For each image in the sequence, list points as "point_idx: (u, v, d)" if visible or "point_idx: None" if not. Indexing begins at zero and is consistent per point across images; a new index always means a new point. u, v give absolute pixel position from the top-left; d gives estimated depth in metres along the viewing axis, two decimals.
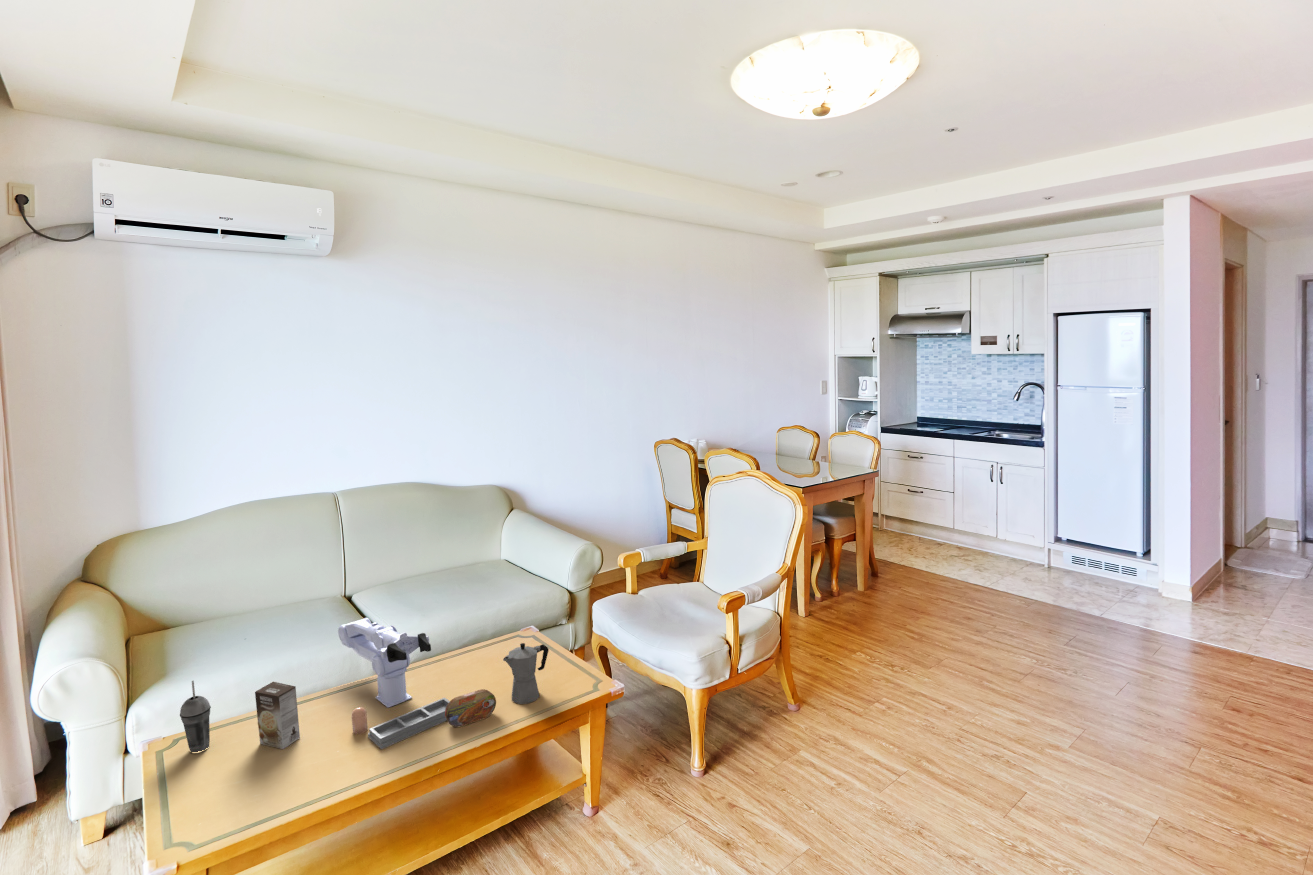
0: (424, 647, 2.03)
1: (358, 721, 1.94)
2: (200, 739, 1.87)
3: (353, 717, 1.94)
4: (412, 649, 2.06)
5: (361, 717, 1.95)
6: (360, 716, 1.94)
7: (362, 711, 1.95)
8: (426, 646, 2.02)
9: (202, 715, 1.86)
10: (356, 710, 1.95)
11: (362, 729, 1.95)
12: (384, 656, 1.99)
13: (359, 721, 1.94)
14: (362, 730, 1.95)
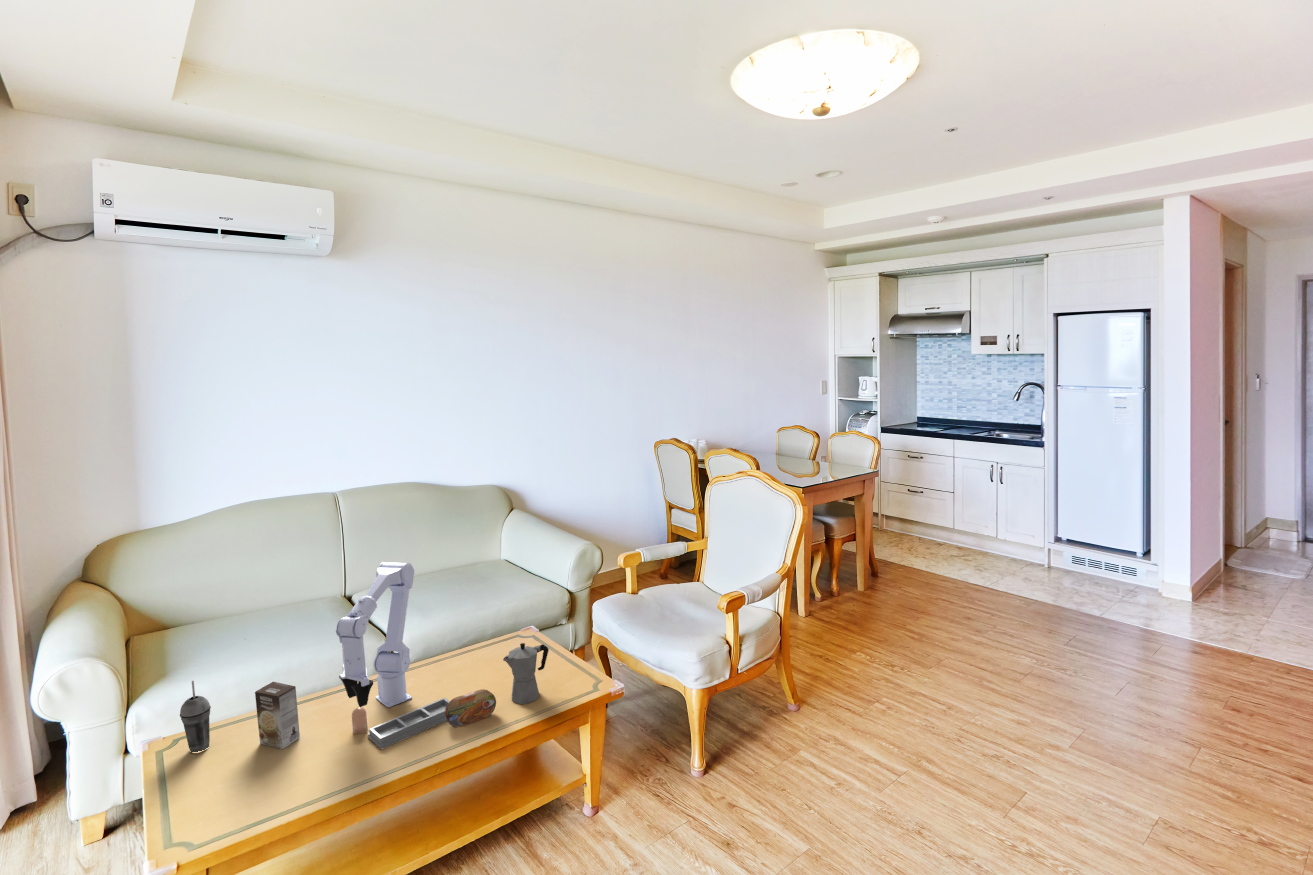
0: None
1: (358, 721, 1.94)
2: (200, 739, 1.87)
3: (353, 717, 1.94)
4: None
5: (361, 717, 1.95)
6: (360, 716, 1.94)
7: (362, 711, 1.95)
8: None
9: (202, 715, 1.86)
10: (356, 710, 1.95)
11: (362, 729, 1.95)
12: None
13: (359, 721, 1.94)
14: (362, 730, 1.95)
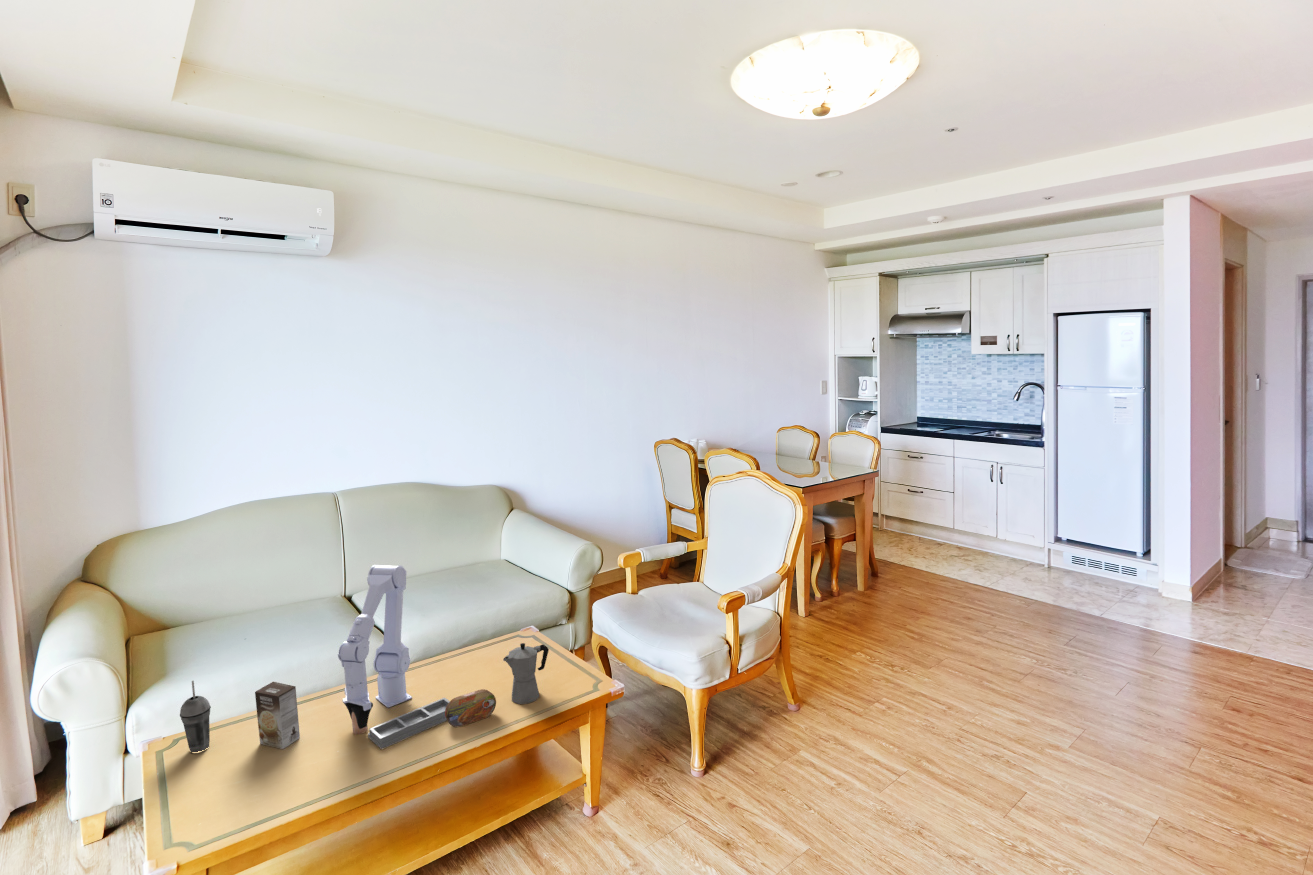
0: None
1: None
2: (200, 739, 1.87)
3: (353, 717, 1.94)
4: None
5: None
6: None
7: None
8: None
9: (202, 715, 1.86)
10: None
11: (362, 729, 1.95)
12: None
13: None
14: (362, 730, 1.95)
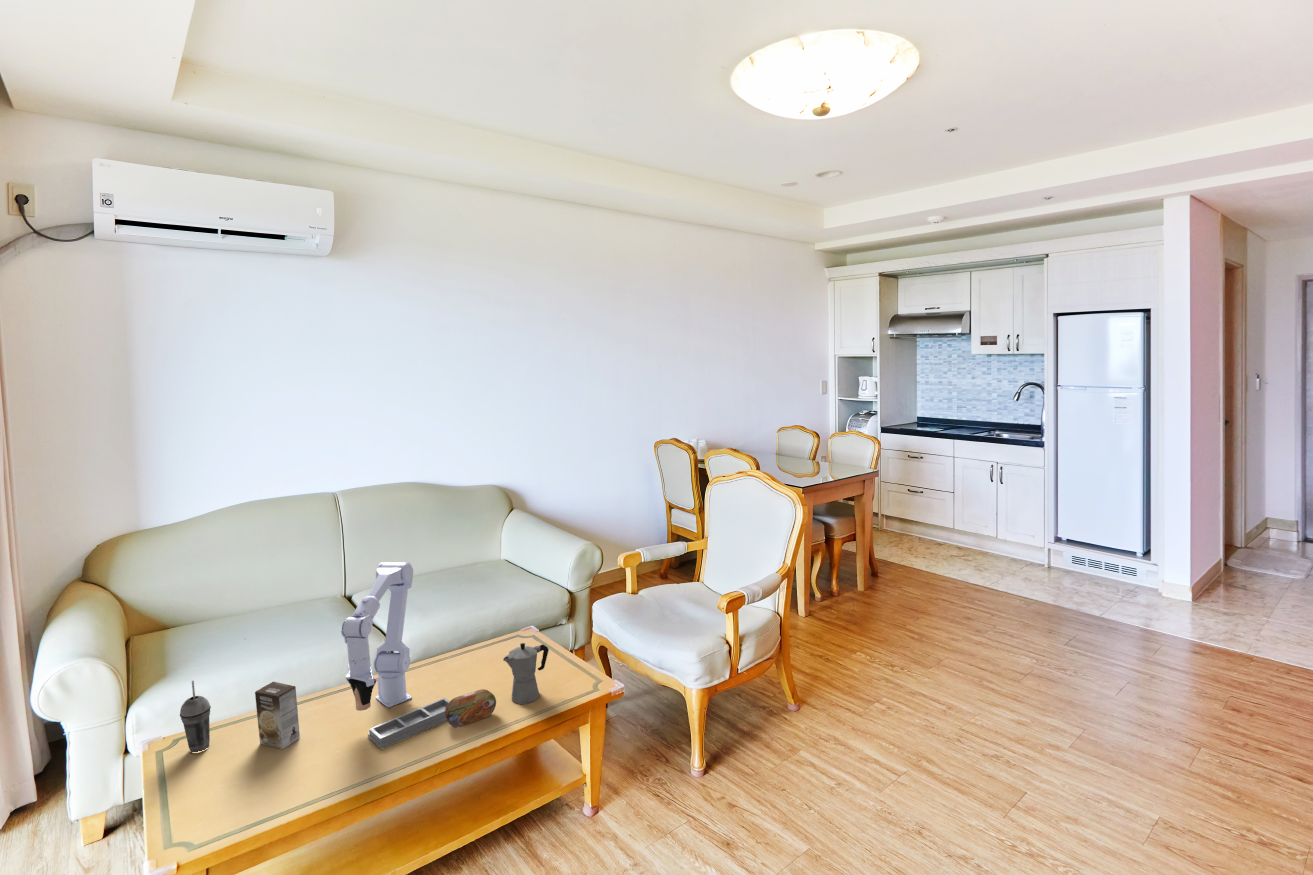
0: None
1: None
2: (200, 739, 1.87)
3: (356, 693, 1.93)
4: None
5: None
6: None
7: None
8: None
9: (202, 715, 1.86)
10: None
11: (365, 706, 1.94)
12: None
13: None
14: (365, 707, 1.94)
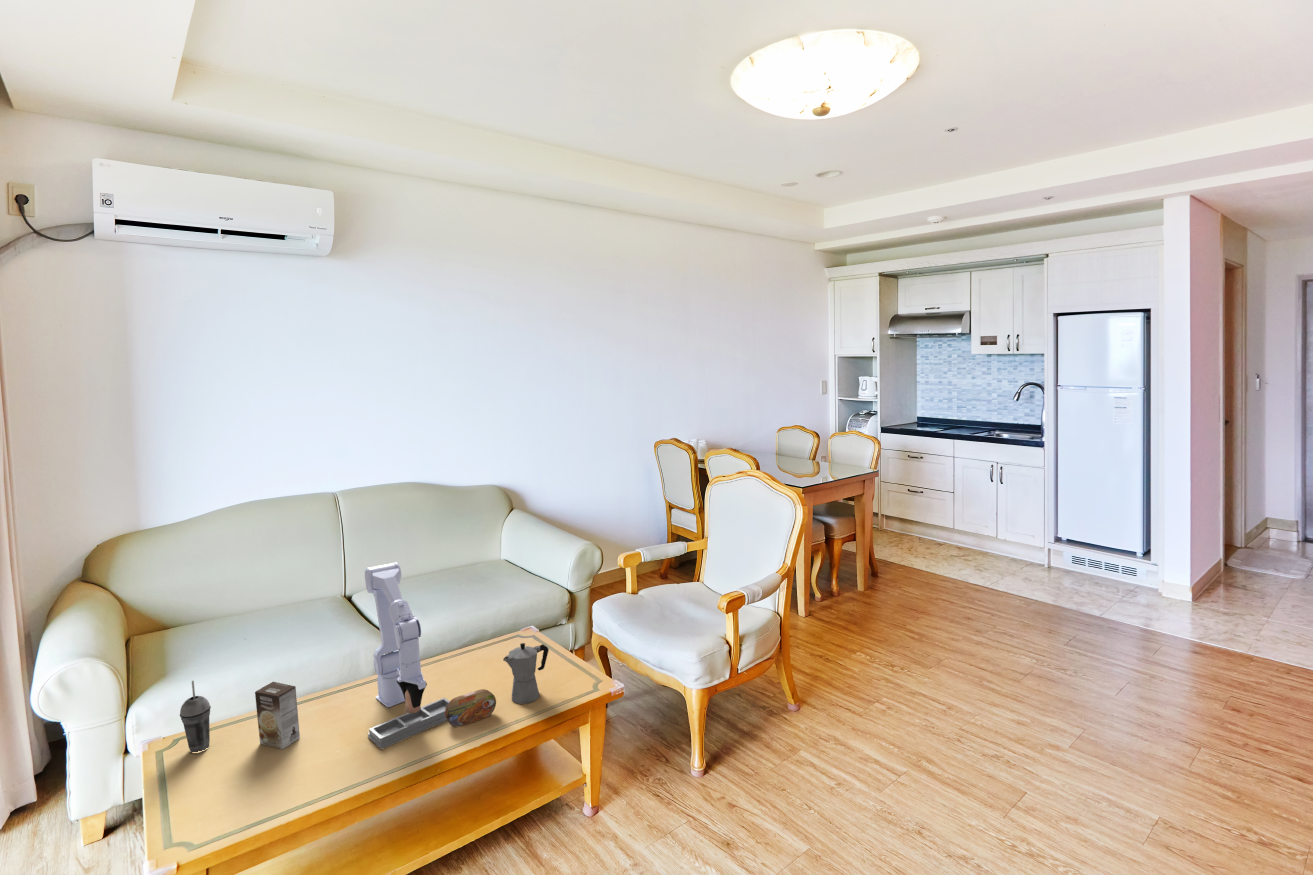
0: None
1: None
2: (200, 739, 1.87)
3: (407, 696, 1.95)
4: None
5: None
6: None
7: None
8: None
9: (202, 715, 1.86)
10: None
11: (416, 708, 1.96)
12: None
13: None
14: (416, 709, 1.96)
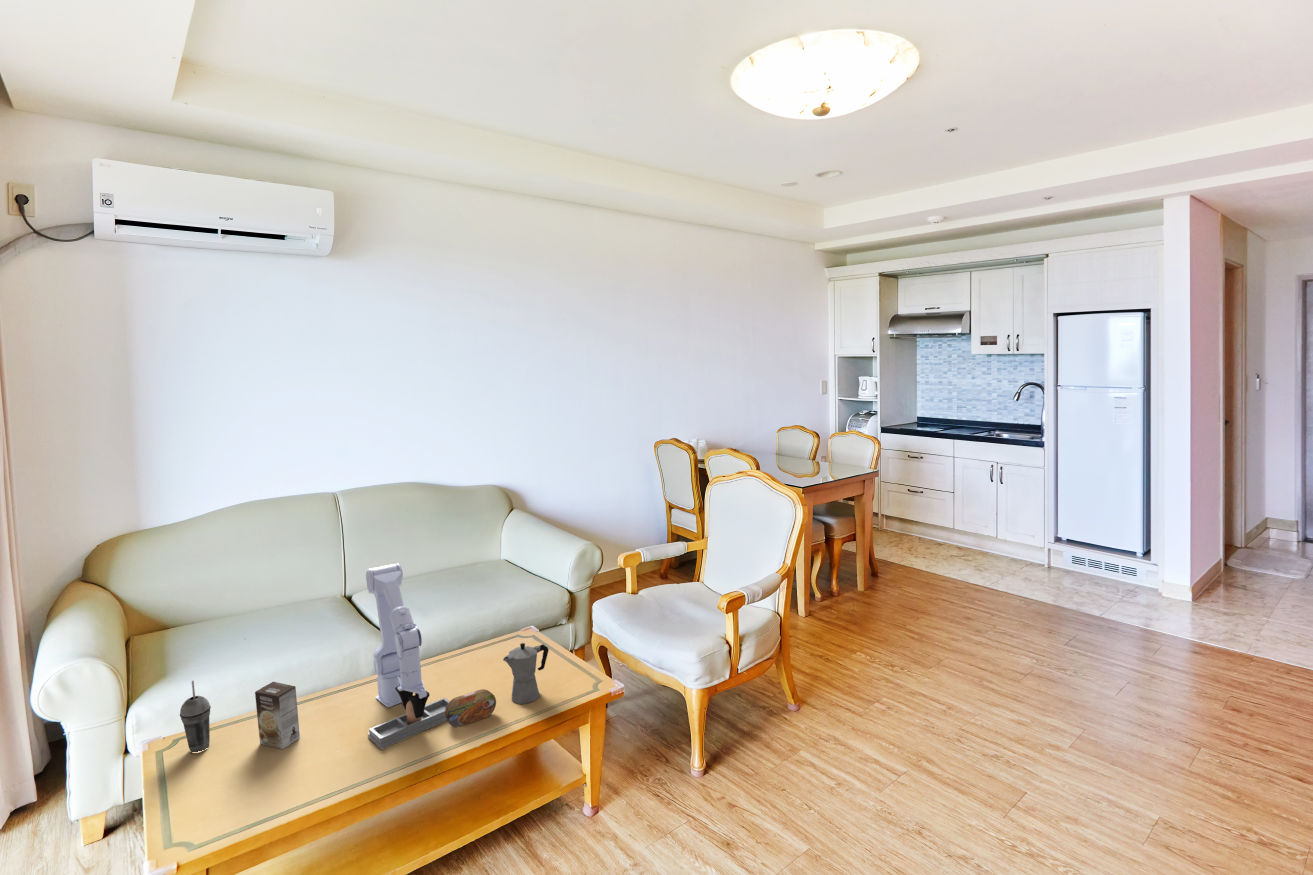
0: None
1: (413, 713, 1.96)
2: (200, 739, 1.87)
3: (408, 709, 1.96)
4: None
5: None
6: None
7: None
8: None
9: (202, 715, 1.86)
10: (410, 702, 1.96)
11: (416, 721, 1.96)
12: None
13: None
14: None
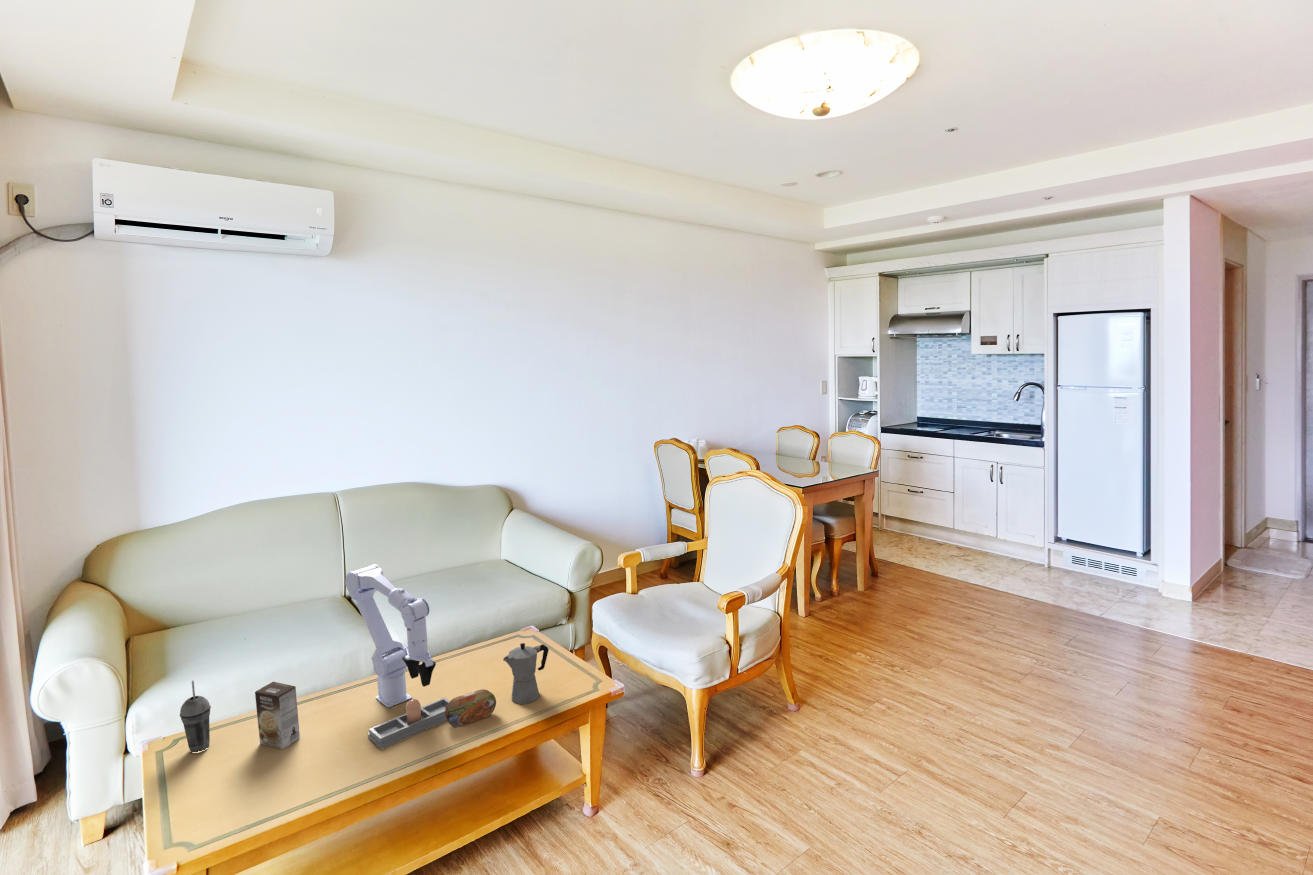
0: None
1: (413, 713, 1.96)
2: (200, 739, 1.87)
3: (408, 709, 1.96)
4: None
5: (416, 708, 1.96)
6: (415, 708, 1.96)
7: (417, 703, 1.97)
8: None
9: (202, 715, 1.86)
10: (411, 702, 1.96)
11: (416, 721, 1.96)
12: None
13: (414, 713, 1.96)
14: None
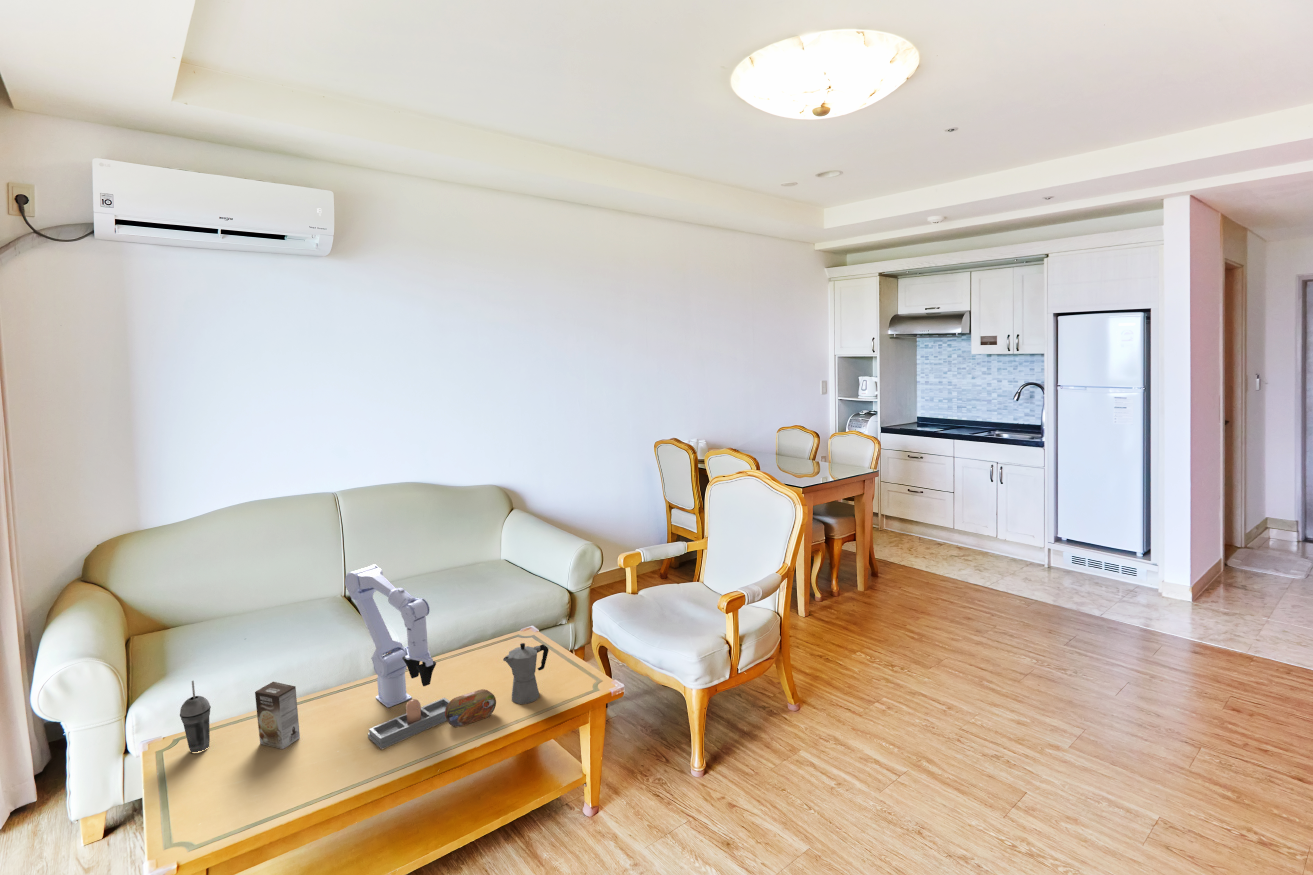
0: None
1: (413, 713, 1.96)
2: (200, 739, 1.87)
3: (408, 709, 1.96)
4: None
5: (416, 708, 1.96)
6: (415, 708, 1.96)
7: (416, 703, 1.97)
8: None
9: (202, 715, 1.86)
10: (411, 702, 1.96)
11: (416, 721, 1.96)
12: None
13: (414, 713, 1.96)
14: None
